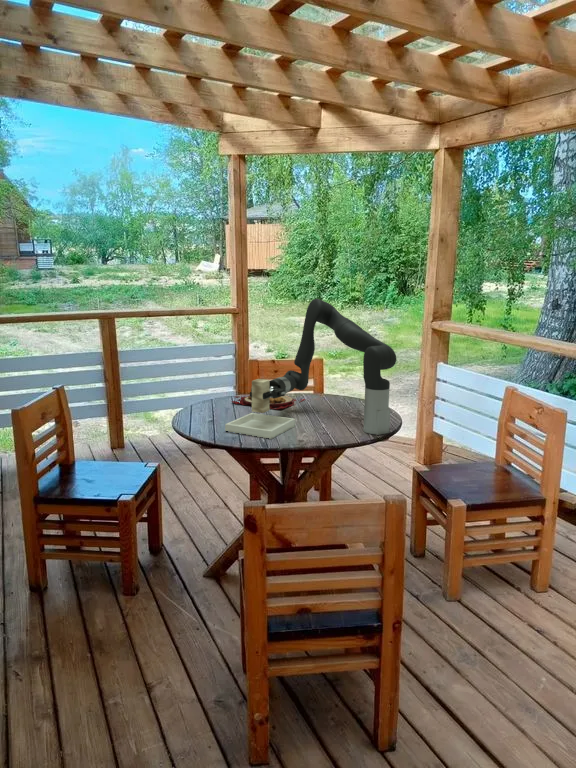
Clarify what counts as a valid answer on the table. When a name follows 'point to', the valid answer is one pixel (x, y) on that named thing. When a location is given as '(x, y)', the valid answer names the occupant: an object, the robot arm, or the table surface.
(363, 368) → the robot arm
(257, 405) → the block
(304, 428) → the table surface
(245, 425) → the tray
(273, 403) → the plate with food
